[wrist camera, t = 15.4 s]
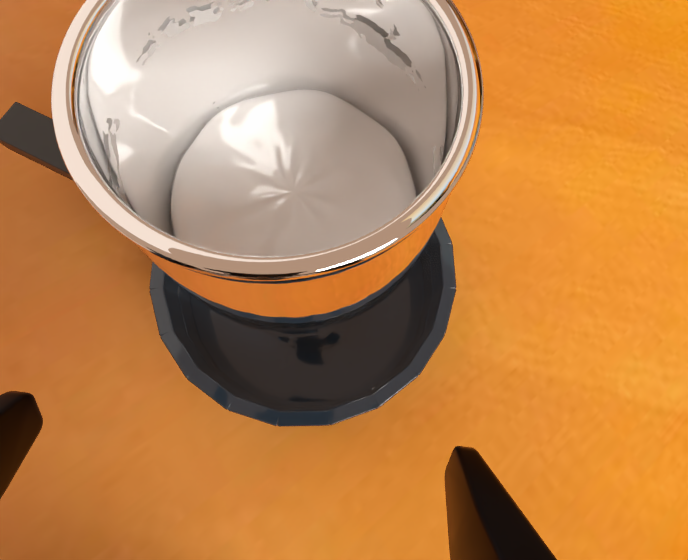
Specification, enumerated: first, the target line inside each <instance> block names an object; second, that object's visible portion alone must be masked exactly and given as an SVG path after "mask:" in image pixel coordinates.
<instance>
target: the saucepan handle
mask: <svg viewBox="0 0 688 560" xmlns="http://www.w3.org/2000/svg"><path fill="white" fill-rule="evenodd" d="M0 143H1V144H3V145H4V146H5V147H7V148H8V149H10V150H12V151H14V152H16V153H18V154H20V155H22V156H25V157H27V158H29V159H31V160H33V161H35V162H37V163H39V164H41V165H43V166H45V167H47V168H49V169H51V170H53V171H55V172H57V173H59V174H61V175H63V176H65V177H67V178H69V179H71V180H73V179H72V177H71V175H70V173H69V171H68V169H67V167H66V165H65V163H64V160H63V158H62V155H61V153H60V150H59V147H58V143H57V140H56V136H55V131H54V126H53V119H51V118H49V117H47V116H45V115H43V114H41V113H38V112H36V111H34V110H32V109H30V108H28V107H26V106H24V105H22V104H20V103H18V102H15V103H14V104H13V105H12V106H11V108H10V109H9V110H8V111H7V112H6V113H5V115H4V116H3V117H2V118H1V119H0ZM73 181H74V180H73Z"/></svg>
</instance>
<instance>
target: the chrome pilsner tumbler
mask: <svg viewBox="0 0 688 560" xmlns="http://www.w3.org/2000/svg"><path fill="white" fill-rule="evenodd" d="M483 103H484V87H483V76H482V70H481V65H480V60H479V56H478V53H477V49H476V46H475V43H474V41H473V38H472V36H471V33H470V31H469V29H468V27H467V25H466V23H465V21H464V19H463V17H462V15H461V14H460V12H459V10H458V9H457V7H456V6H455V4H454V3H453V1H452V0H86V1H85V2H84V4H83V5H82V6H81V8H80V9H79V11H78V12H77V14H76V16H75V17H74V19H73V21H72V22H71V24H70V26H69V28H68V30H67V32H66V35H65V37H64V39H63V42H62V44H61V47H60V50H59V53H58V56H57V60H56V64H55V69H54V74H53V81H52V93H51V107H52V119H53V126H54V131H55V136H56V140H57V143H58V147H59V150H60V153H61V155H62V158H63V160H64V163H65V165H66V167H67V169H68V171H69V173H70V175H71V177H72V179H73V180H74V182H75V184H76V185H77V187H78V188H79V190H80V191H81V193H82V194H83V196H84V197H85V198H86V200H87V201H88V202H89V203H90V205H91V206H92V207H93V208H94V209H95V211H96V212H97V213H98V214H99V215H100V216H101V217H102V218H103V219H104V220H105V221H106V222H108V223H109V224H110V225H111V226H112V227H113V228H114V229H115V230H117V231H118V232H119V233H120V234H122V235H123V236H124V237H126V238H127V239H128V240H130V241H131V242H133V243H134V244H136V245H137V246H138V247H139V248H140V249H141V250H142V251H143V252H144V253H145V254H146V255H147V256H148V257H149V258H150V259H151V260H152V261H153V262H154V263H155V264H156V265H157V266H158V267H159V268H160V269H161V270H162V271H163V272H165V273H166V274H167V275H168V276H169V277H170V278H171V279H172V280H173V281H174V282H175V283H177V284H178V285H179V286H180V287H181V288H182V289H184V290H185V291H186V292H188V293H189V294H190V295H192V296H193V297H194V298H196V299H197V300H198V301H200V302H201V303H202V304H204V305H205V306H206V307H208V308H209V309H211V310H212V311H214V312H216V313H217V314H219V315H221V316H223V317H225V318H227V319H229V320H231V321H233V322H235V323H237V324H239V325H241V326H243V327H246V328H248V329H251V330H254V331H257V332H260V333H264V334H268V335H272V336H273V337H274V338H276V339H277V340H279V341H280V342H282V343H284V344H286V345H288V346H291V347H294V348H298V349H305V350H317V349H323V348H328V347H331V346H333V345H336V344H338V343H340V342H342V341H343V340H345V339H346V338H348V337H349V336H350V335H351V334H352V333H353V332H354V331H355V330H356V329H357V328H358V327H359V325H360V324H361V323H362V321H363V319H364V318H365V317H366V316H368V315H369V314H371V313H372V312H373V311H375V310H376V309H377V308H378V307H380V306H381V305H382V304H383V303H384V302H385V301H386V300H387V299H388V298H389V297H390V296H391V295H392V294H393V292H394V291H395V290H396V289H397V288H398V287H399V286H400V285H401V284H402V283H403V281H404V280H405V279H406V277H407V276H408V275H409V273H410V272H411V270H412V269H413V267H414V266H415V264H416V262H417V261H418V259H419V258H420V256H421V254H422V253H423V251H424V249H425V248H426V246H427V244H428V242H429V240H430V238H431V236H432V234H433V232H434V230H435V228H436V226H437V224H438V222H439V220H440V218H441V216H442V214H443V211H444V209H445V207H446V204H447V202H448V200H449V197H450V195H451V193H452V191H453V190H454V188H455V187H456V185H457V184H458V182H459V180H460V179H461V177H462V175H463V174H464V172H465V170H466V168H467V166H468V164H469V162H470V159H471V157H472V154H473V152H474V149H475V146H476V143H477V139H478V136H479V132H480V127H481V122H482V115H483Z"/></svg>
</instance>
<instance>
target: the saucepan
mask: <svg viewBox="0 0 688 560" xmlns="http://www.w3.org/2000/svg"><path fill="white" fill-rule="evenodd" d="M455 292H456V279H455V267H454V256H453V245H452V241H451V239H450V237H449V234H448V232H447V230H446V227H445V225H444V223H443V220H442V218H440V220H439V222H438V224H437V226H436V228H435V230H434V232H433V234H432V236H431V238H430V240H429V242H428V244H427V246H426V248H425V249H424V251H423V253H422V254H421V256H420V258H419V259H418V261H417V262H416V264H415V266H414V267H413V269H412V270H411V272H410V273H409V275H408V276H407V277H406V279H405V280H404V281H403V283H402V284H401V285H400V286H399V287H398V288H397V289H396V290H395V291H394V292H393V294H392V295H391V296H390V297H389V298H388V299H387V300H386V301H385V302H384V303H383V304H382V305H381V306H380V307H378V308H377V309H376V310H375V311H373V312H372V313H371V314H369V315H368V316H366V317H365V318H364V319H363V321H362V323H361V324H360V325H359V327H358V328H357V329H356V330H355V331H354V332H353V333H352V334H351V335H350V336H349V337H348V338H346V339H345V340H343V341H342V342H340V343H338V344H336V345H333V346H331V347H328V348H323V349H317V350H305V349H298V348H294V347H291V346H288V345H286V344H284V343H282V342H280V341H279V340H277V339H276V338H274V337H273V336H272V335H268V334H264V333H260V332H257V331H254V330H251V329H248V328H246V327H243V326H241V325H239V324H237V323H235V322H233V321H231V320H229V319H227V318H225V317H223V316H221V315H219V314H217V313H216V312H214V311H212V310H211V309H209V308H208V307H206V306H205V305H204V304H202V303H201V302H200V301H198V300H197V299H196V298H194V297H193V296H192V295H190V294H189V293H188V292H186V291H185V290H184V289H182V288H181V287H180V286H179V285H178V284H177V283H175V282H174V281H173V280H172V279H171V278H170V277H169V276H168V275H167V274H166V273H165V272H163V271H162V270H161V269H160V268H159V267H158V266H157V265H156V264H155V263H154V262H152V271H151V280H150V295H151V299H152V304H153V308H154V313H155V317H156V321H157V326H158V330H159V335H160V336H161V339H162V341H163V342H164V344H165V346H166V347H167V349H168V350H169V352H170V353H171V355H172V357H173V358H174V360H175V361H176V363H177V364H178V366H179V368H180V369H181V371H182V372H183V374H184V375H185V377H186V378H187V380H189V381H190V382H191V383H193V384H194V385H195V386H196V387H198V388H199V389H200V390H202V391H203V392H204V393H206V394H207V395H208V396H209V397H211V398H212V399H213V400H215V401H216V402H217V403H218V404H220V405H221V406H222V407H224V408H225V409H228V410H229V411H231V412H235V413H238V414H241V415H244V416H247V417H250V418H253V419H256V420H259V421H262V422H265V423H268V424H271V425H274V426H328V425H333V424H336V423H339V422H341V421H344V420H347V419H350V418H352V417H355V416H358V415H361V414H363V413H366V412H369V411H372V410H374V409H377V408H379V407H381V406H382V405H383V404H384V403H386V402H387V401H388V400H389V399H391V398H392V397H393V396H394V395H396V394H397V393H398V392H399V391H401V390H402V389H403V388H404V387H406V386H407V385H408V384H409V383H411V382H412V381H413V380H414V379H416V378H417V377H418V375H420V374H421V372H422V370H423V369H424V367H425V366H426V364H427V363H428V361H429V359H430V358H431V356H432V355H433V353H434V352H435V350H436V348H437V347H438V345H439V344H440V342H441V341H442V339H443V337H444V336H445V333H446V329H447V325H448V321H449V317H450V313H451V309H452V305H453V301H454V297H455Z"/></svg>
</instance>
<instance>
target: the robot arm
mask: <svg viewBox="0 0 688 560" xmlns="http://www.w3.org/2000/svg"><path fill="white" fill-rule="evenodd" d="M42 424H43V418H42V415H41V413H40V410H39V408H38V405H37V403H36V400H35V398H34V396H33V395H32V394H30V393H25V392H17V391H10V392H6V393H4V394H2V395H0V499H1V497H2V496H3V494H4V492H5V491H6V489H7V487H8V486H9V484H10V482H11V480H12V479H13V477H14V475H15V474H16V472H17V470H18V468H19V467H20V465H21V463H22V461H23V460H24V458H25V456H26V455H27V453H28V451H29V449H30V448H31V446H32V444H33V443H34V441H35V439H36V437H37V436H38V434H39V432H40V430H41V428H42ZM445 491H446V506H447V521H448V536H449V549H450V559H451V560H557V559H556V558H555V556H554V555H553V554H552V552H551V551H550V550H549V548H548V547H547V545H546V544H545V543H544V541H543V540H542V539H541V537H540V536H539V535H538V533H537V532H536V530H535V529H534V528H533V526H532V525H531V524H530V522H529V521H528V520H527V518H526V517H525V515H524V514H523V513H522V511H521V510H520V509H519V507H518V506H517V504H516V503H515V502H514V500H513V499H512V498H511V496H510V495H509V494H508V492H507V491H506V489H505V488H504V487H503V485H502V484H501V483H500V481H499V480H498V479H497V477H496V476H495V474H494V473H493V472H492V470H491V469H490V468H489V466H488V465H487V464H486V462H485V461H484V459H483V458H482V457H481V455H480V454H479V453H478V451H477V450H475V449H474V448H471V447H463V446H456V447H455V448H454V450H453V452H452V454H451V457H450V460H449V462H448V465H447V467H446V471H445Z"/></svg>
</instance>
